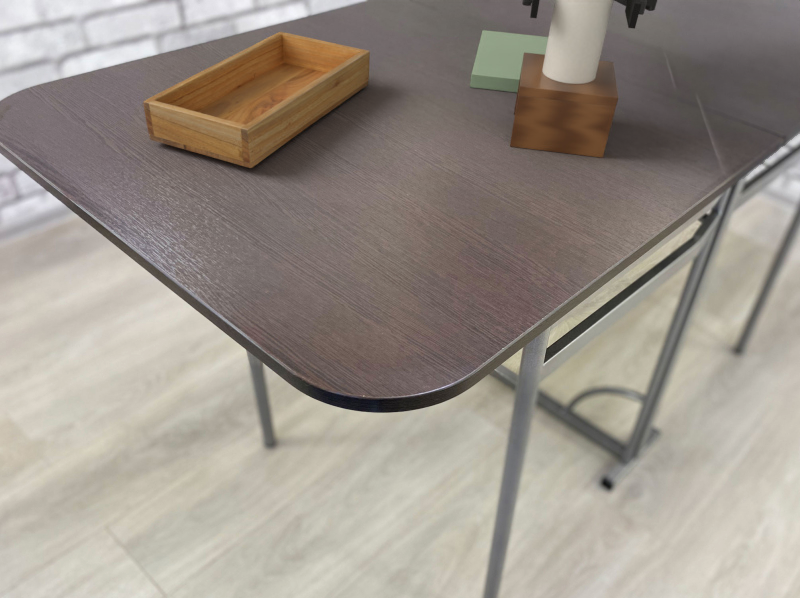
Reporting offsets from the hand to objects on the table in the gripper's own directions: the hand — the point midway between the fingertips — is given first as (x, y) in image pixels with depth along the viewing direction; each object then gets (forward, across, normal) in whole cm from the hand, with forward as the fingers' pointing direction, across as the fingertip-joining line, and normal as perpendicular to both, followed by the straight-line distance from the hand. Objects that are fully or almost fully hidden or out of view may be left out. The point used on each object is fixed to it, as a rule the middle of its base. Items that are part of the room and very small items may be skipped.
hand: (584, 11), depth 83 cm
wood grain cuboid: (-4, 0, -17) cm, 17 cm away
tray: (+1, +39, -17) cm, 43 cm away
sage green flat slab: (-26, +5, -17) cm, 31 cm away
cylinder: (-4, 0, -9) cm, 10 cm away
